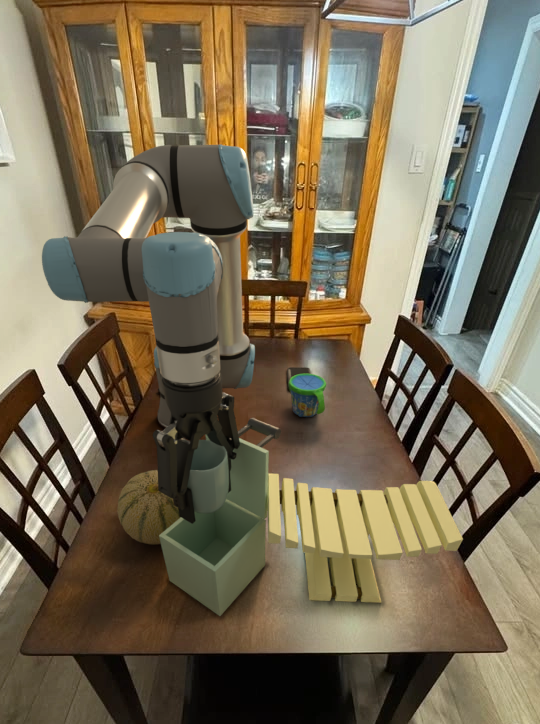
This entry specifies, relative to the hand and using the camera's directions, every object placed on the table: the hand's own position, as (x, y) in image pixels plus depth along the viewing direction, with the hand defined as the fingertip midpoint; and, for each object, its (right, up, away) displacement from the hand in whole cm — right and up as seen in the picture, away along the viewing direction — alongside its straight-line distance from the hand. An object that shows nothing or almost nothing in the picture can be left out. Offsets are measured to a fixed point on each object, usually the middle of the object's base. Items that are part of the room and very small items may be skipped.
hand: (206, 502), depth 67 cm
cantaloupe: (-13, -8, +21) cm, 26 cm away
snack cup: (+22, +22, +59) cm, 66 cm away
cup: (0, 0, 0) cm, 0 cm away
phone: (+21, +35, +74) cm, 85 cm away
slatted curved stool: (+24, -14, +14) cm, 31 cm away
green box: (+1, -15, +13) cm, 20 cm away
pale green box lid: (+4, +5, +4) cm, 8 cm away
